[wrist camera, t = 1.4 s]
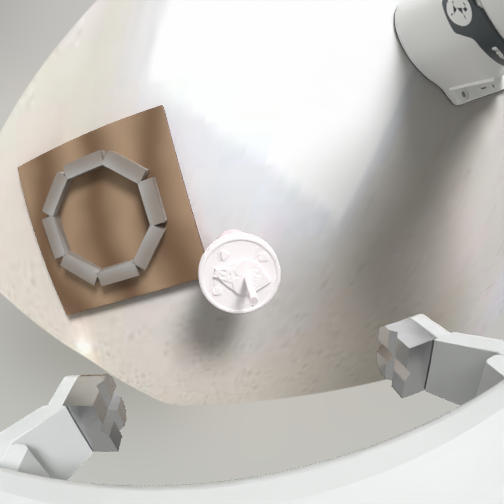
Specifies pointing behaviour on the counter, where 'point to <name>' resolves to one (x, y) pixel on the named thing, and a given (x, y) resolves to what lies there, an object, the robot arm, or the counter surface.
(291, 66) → the counter surface
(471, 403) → the robot arm
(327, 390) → the counter surface
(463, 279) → the counter surface
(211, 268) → the smoothie
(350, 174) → the counter surface
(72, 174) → the socket
